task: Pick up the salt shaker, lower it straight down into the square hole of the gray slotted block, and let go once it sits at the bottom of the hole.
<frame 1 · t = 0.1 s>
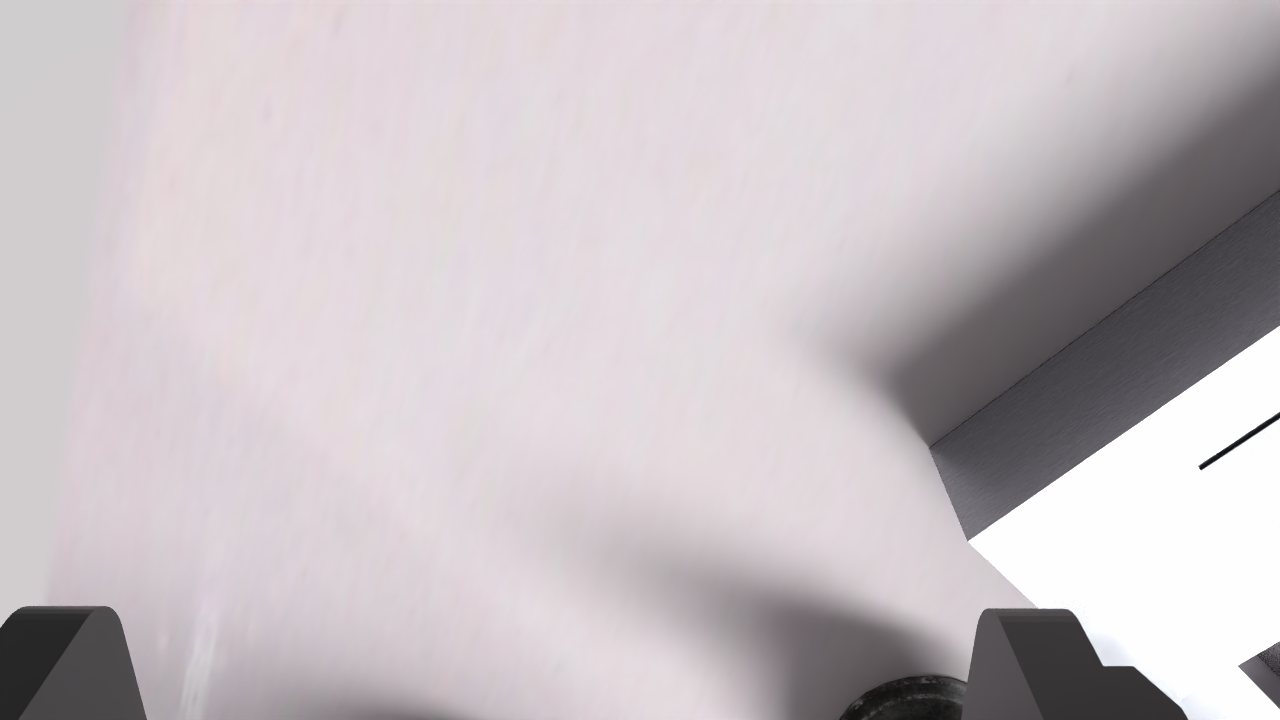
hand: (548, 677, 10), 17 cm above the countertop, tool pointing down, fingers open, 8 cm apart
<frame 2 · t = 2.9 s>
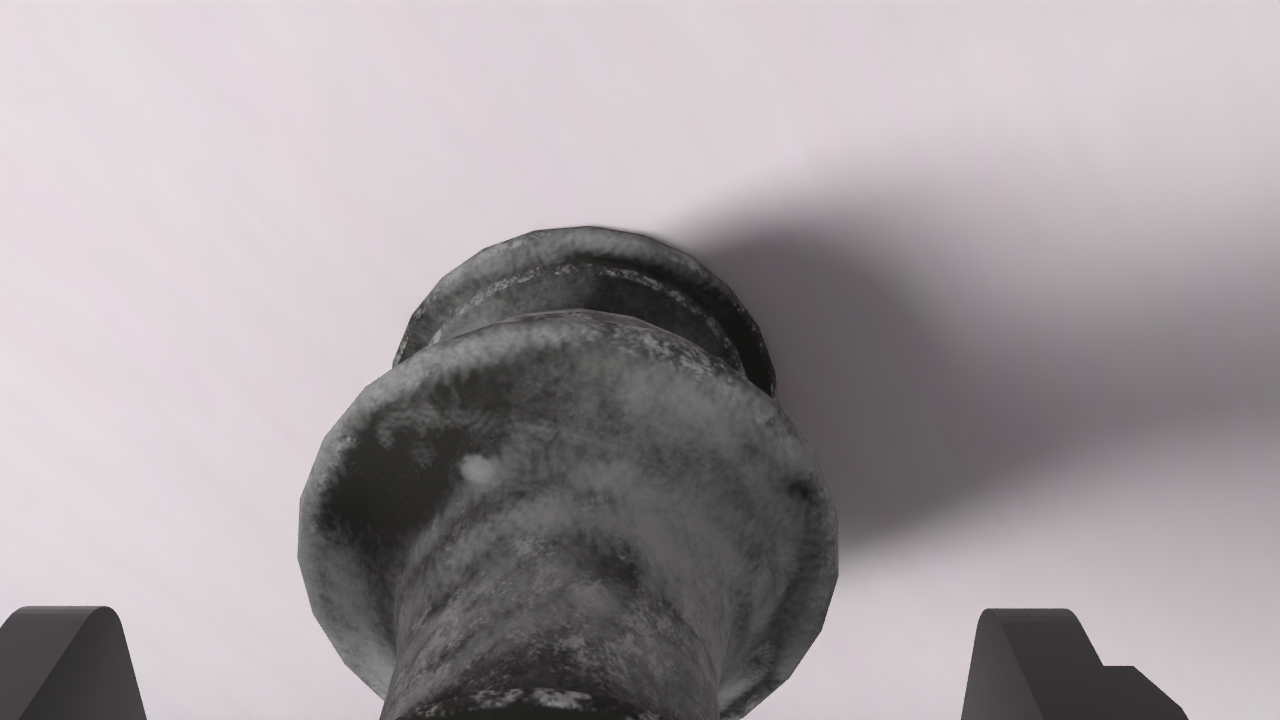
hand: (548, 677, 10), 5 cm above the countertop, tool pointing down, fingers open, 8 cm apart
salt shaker: (584, 401, 15), on the countertop
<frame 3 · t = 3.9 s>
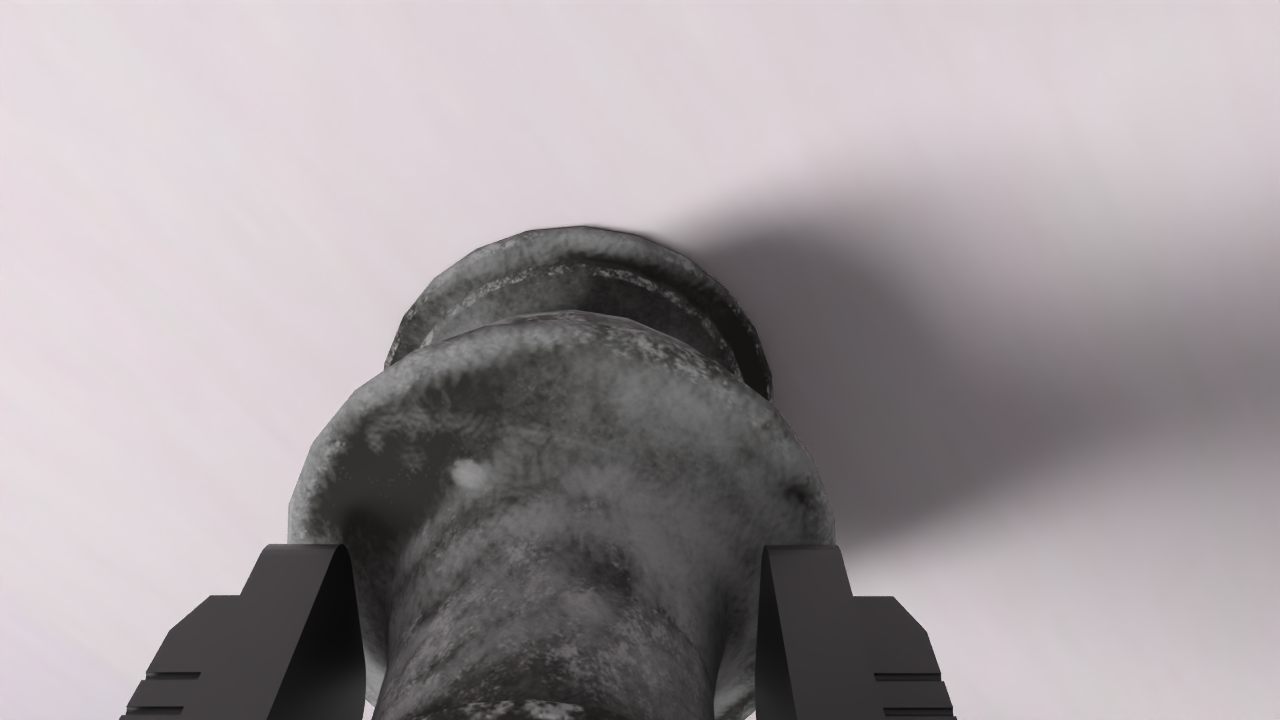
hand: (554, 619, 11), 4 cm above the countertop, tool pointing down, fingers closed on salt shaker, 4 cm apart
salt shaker: (579, 403, 15), on the countertop, touching gripper
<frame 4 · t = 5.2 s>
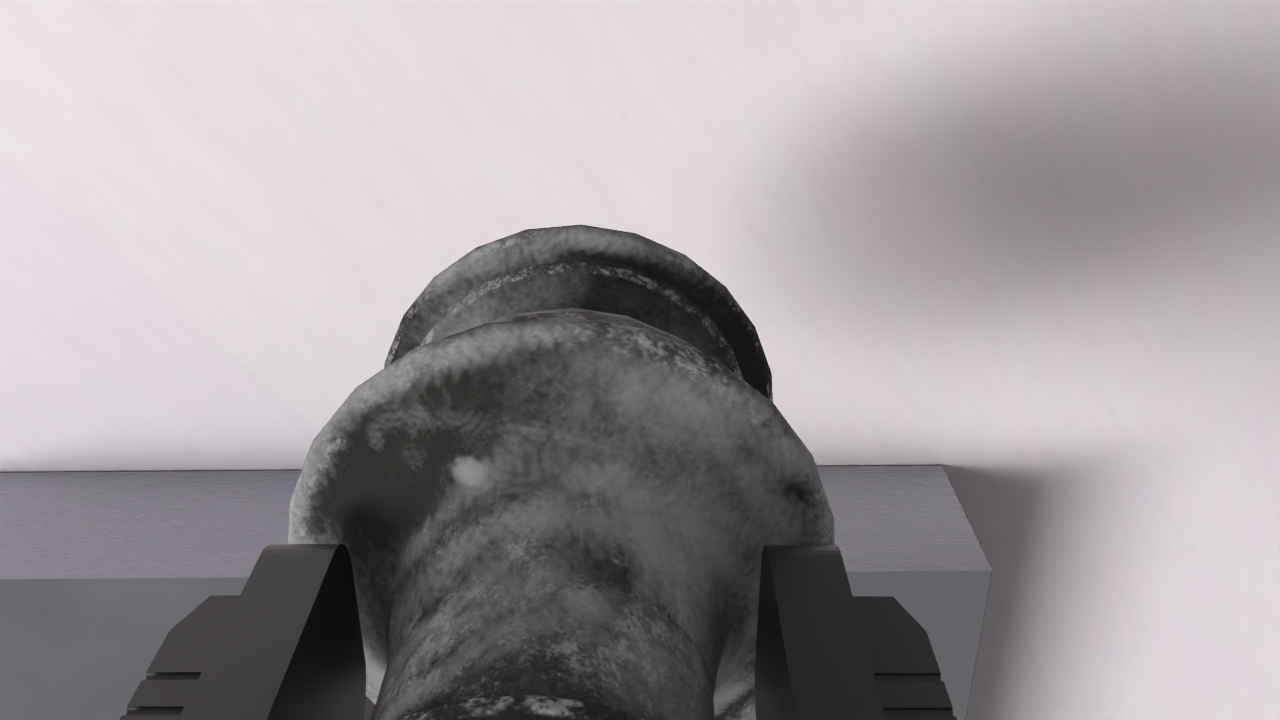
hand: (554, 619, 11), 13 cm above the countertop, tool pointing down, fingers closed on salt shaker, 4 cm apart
gray slotted block: (456, 678, 29), on the countertop
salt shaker: (579, 402, 15), point 9 cm above the countertop, touching gripper
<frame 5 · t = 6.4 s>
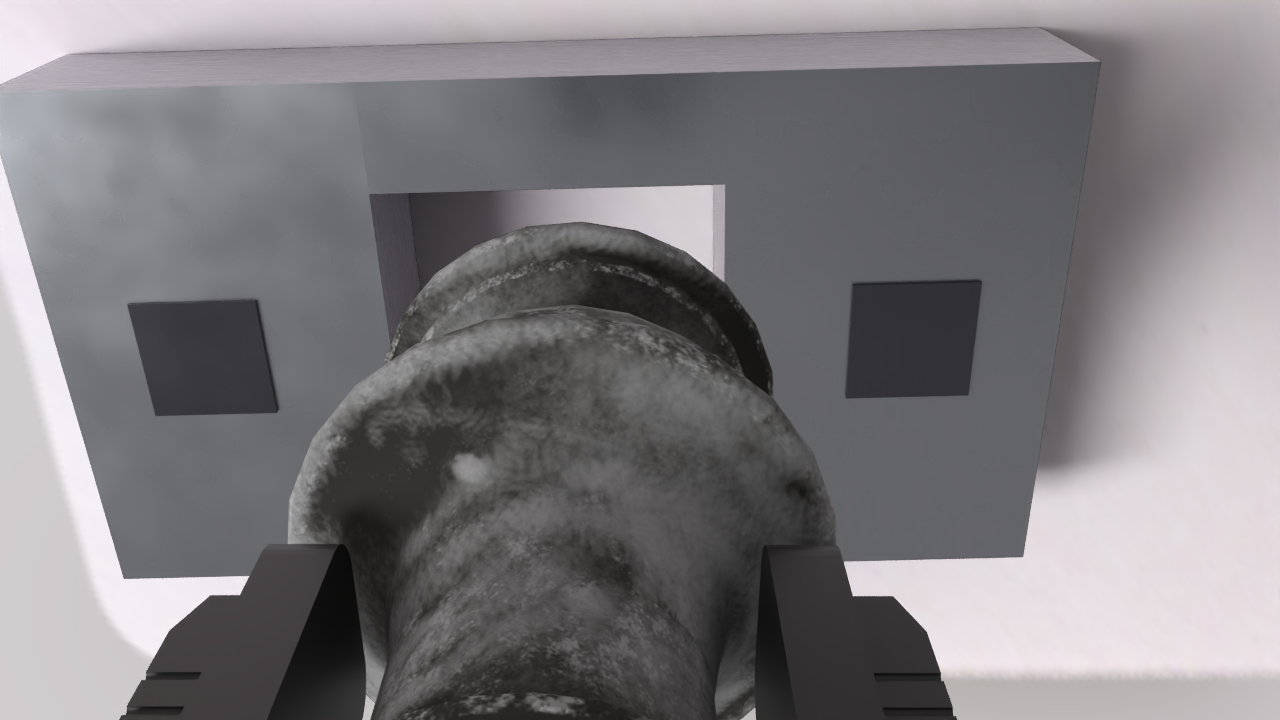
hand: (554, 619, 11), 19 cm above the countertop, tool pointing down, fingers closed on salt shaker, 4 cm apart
gray slotted block: (566, 284, 30), on the countertop
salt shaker: (579, 399, 15), point 15 cm above the countertop, touching gripper
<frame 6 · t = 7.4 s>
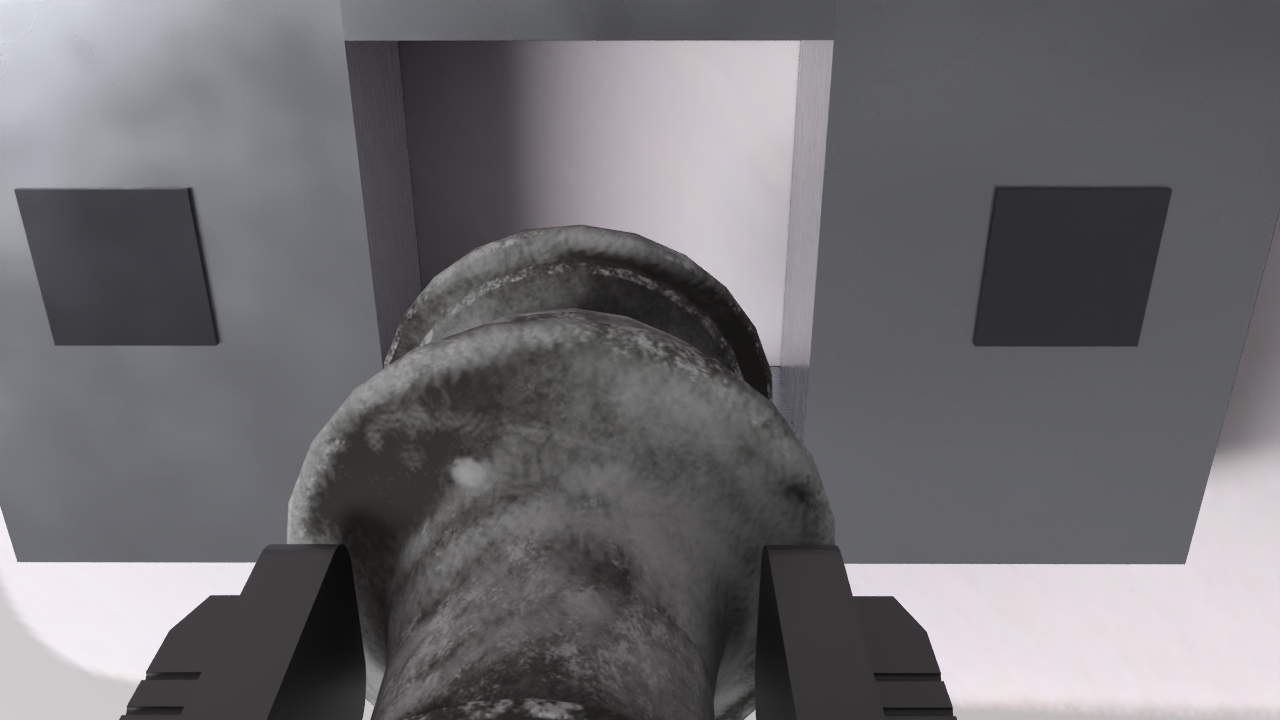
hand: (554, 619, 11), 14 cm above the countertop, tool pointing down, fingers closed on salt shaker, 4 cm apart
gray slotted block: (601, 198, 24), on the countertop
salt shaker: (579, 402, 15), point 9 cm above the countertop, touching gripper
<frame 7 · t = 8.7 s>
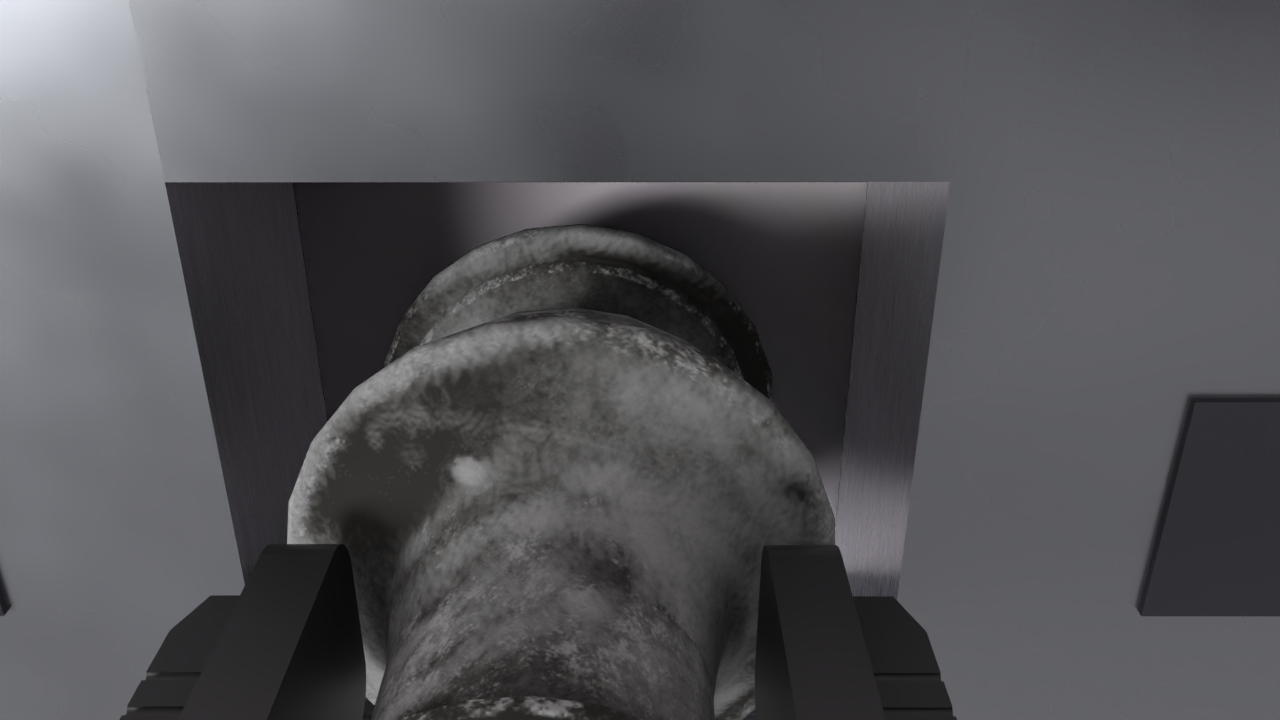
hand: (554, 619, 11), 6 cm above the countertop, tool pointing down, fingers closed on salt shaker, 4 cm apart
gray slotted block: (584, 358, 17), on the countertop
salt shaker: (579, 401, 15), point 2 cm above the countertop, touching gripper
when the fingers open (5 cm above the countertop, at t = 9.2 s): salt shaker stays where it is, resting in gray slotted block.
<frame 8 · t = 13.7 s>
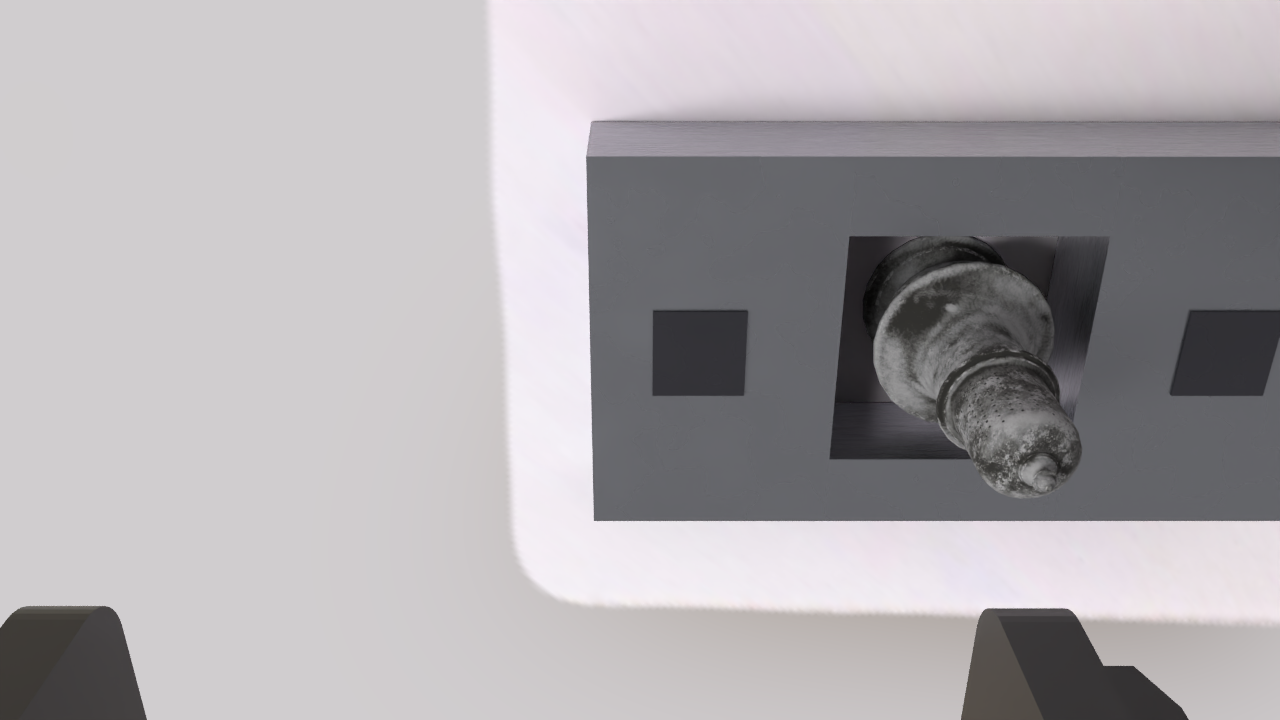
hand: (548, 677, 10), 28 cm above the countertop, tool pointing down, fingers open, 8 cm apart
gray slotted block: (933, 303, 39), on the countertop
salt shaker: (935, 300, 40), resting in gray slotted block
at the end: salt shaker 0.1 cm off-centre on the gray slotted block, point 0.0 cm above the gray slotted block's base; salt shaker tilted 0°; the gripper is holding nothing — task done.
